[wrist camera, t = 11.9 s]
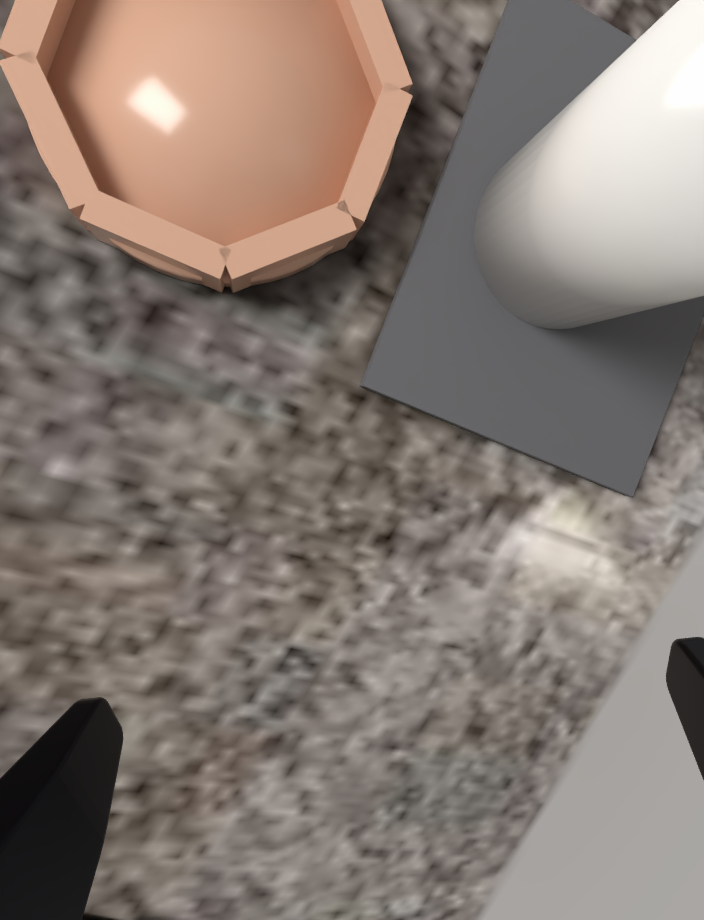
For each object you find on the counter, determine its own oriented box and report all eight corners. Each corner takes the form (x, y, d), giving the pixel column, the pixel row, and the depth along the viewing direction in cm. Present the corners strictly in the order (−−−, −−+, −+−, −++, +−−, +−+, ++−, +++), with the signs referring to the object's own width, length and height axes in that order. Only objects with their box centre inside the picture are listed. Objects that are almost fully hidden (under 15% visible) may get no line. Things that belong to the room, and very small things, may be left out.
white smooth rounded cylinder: (556, 366, 23) (841, 327, 12) (437, 233, 21) (636, 52, 11) (671, 243, 23) (1046, 97, 12) (561, 105, 22) (872, -193, 11)
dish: (319, 340, 21) (328, 332, 19) (-23, 195, 19) (-57, 168, 17) (437, 32, 21) (460, -11, 19) (108, -154, 19) (91, -226, 17)
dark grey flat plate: (623, 494, 24) (632, 497, 24) (359, 386, 22) (363, 385, 21) (764, 132, 24) (777, 125, 24) (514, -18, 22) (522, -29, 21)
